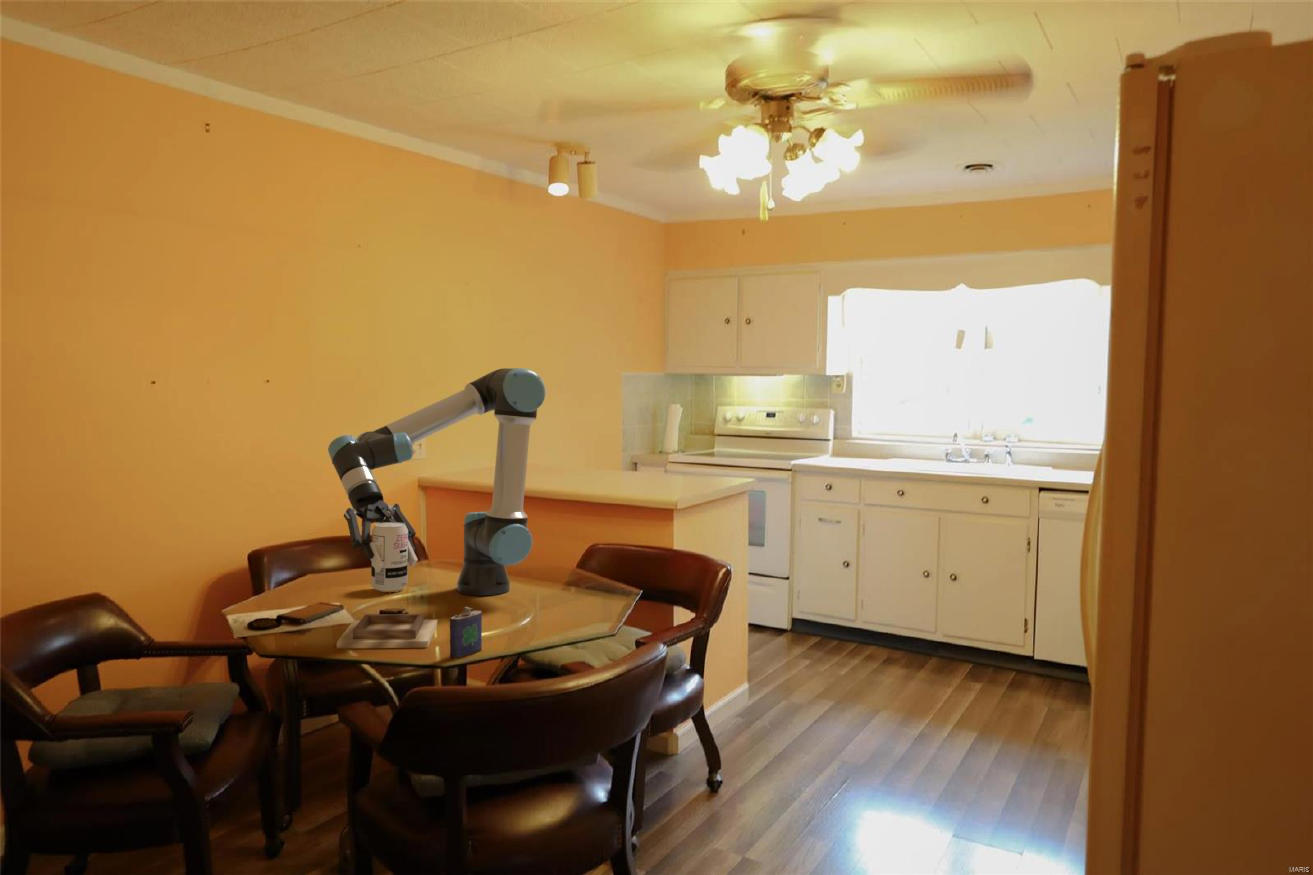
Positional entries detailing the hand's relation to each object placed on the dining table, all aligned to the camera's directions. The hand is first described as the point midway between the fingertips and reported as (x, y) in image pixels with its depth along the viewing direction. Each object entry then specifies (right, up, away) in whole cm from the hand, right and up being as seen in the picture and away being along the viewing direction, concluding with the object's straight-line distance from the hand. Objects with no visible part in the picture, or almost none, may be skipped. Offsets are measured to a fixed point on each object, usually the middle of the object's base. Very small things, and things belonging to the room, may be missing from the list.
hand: (397, 566), depth 203 cm
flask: (+18, -19, -8) cm, 27 cm away
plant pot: (-16, -14, +48) cm, 52 cm away
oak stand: (-3, -17, +3) cm, 18 cm away
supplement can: (-3, -6, +3) cm, 7 cm away
